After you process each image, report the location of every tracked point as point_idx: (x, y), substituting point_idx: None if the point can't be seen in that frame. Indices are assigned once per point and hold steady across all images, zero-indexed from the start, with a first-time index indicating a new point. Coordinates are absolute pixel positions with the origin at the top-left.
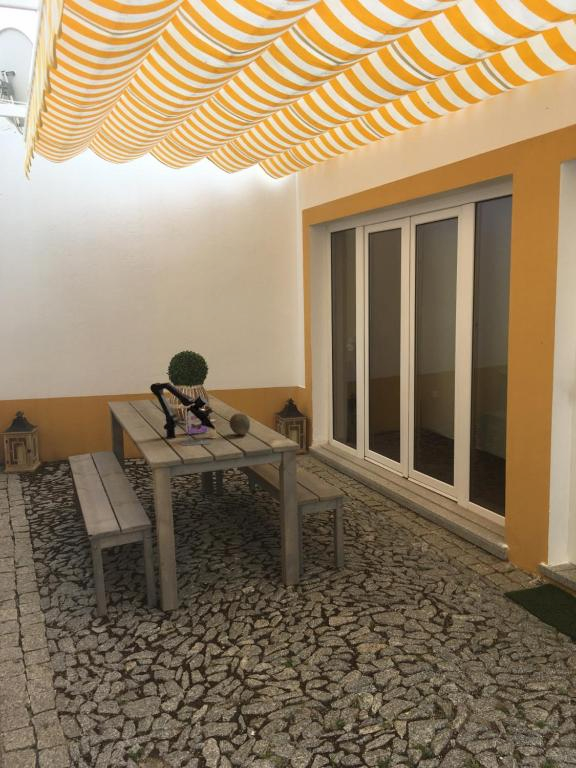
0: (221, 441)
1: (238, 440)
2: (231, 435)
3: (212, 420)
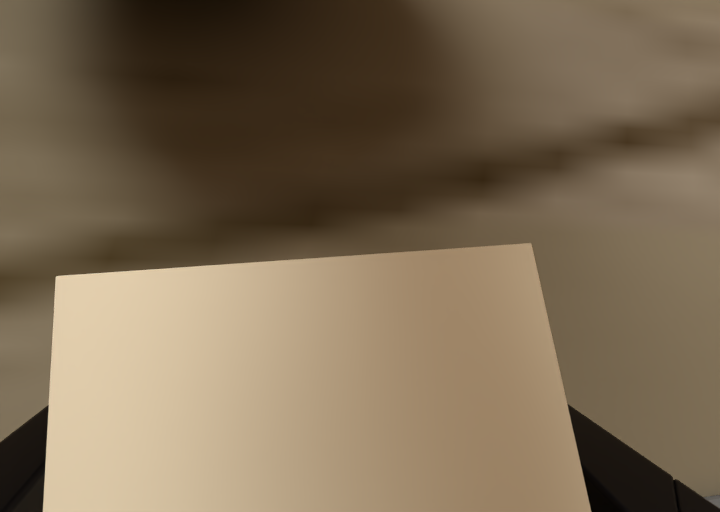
0: (632, 271)
1: (570, 18)
2: (178, 80)
3: (353, 491)
